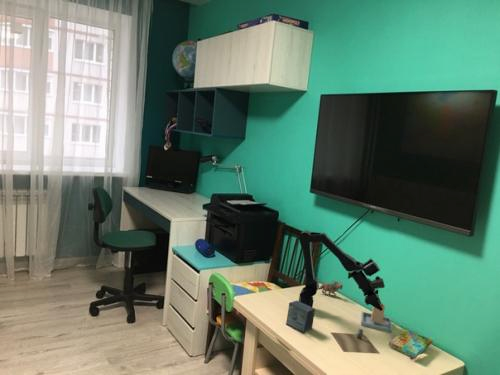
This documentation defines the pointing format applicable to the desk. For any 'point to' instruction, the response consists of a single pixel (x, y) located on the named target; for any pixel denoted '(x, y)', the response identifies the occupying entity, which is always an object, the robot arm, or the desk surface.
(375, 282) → the robot arm
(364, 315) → the grey tray
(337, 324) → the desk surface
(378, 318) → the wooden pen holder
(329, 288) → the dinosaur figurine
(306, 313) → the small box
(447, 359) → the desk surface
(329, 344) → the desk surface
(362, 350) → the walnut stake base
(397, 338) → the puzzle game
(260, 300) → the desk surface
